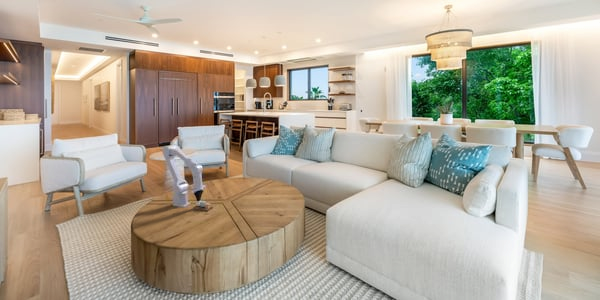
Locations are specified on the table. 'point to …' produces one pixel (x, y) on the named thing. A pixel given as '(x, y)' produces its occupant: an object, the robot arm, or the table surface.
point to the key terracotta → (207, 205)
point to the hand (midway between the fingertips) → (198, 200)
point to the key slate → (202, 203)
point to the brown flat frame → (202, 208)
